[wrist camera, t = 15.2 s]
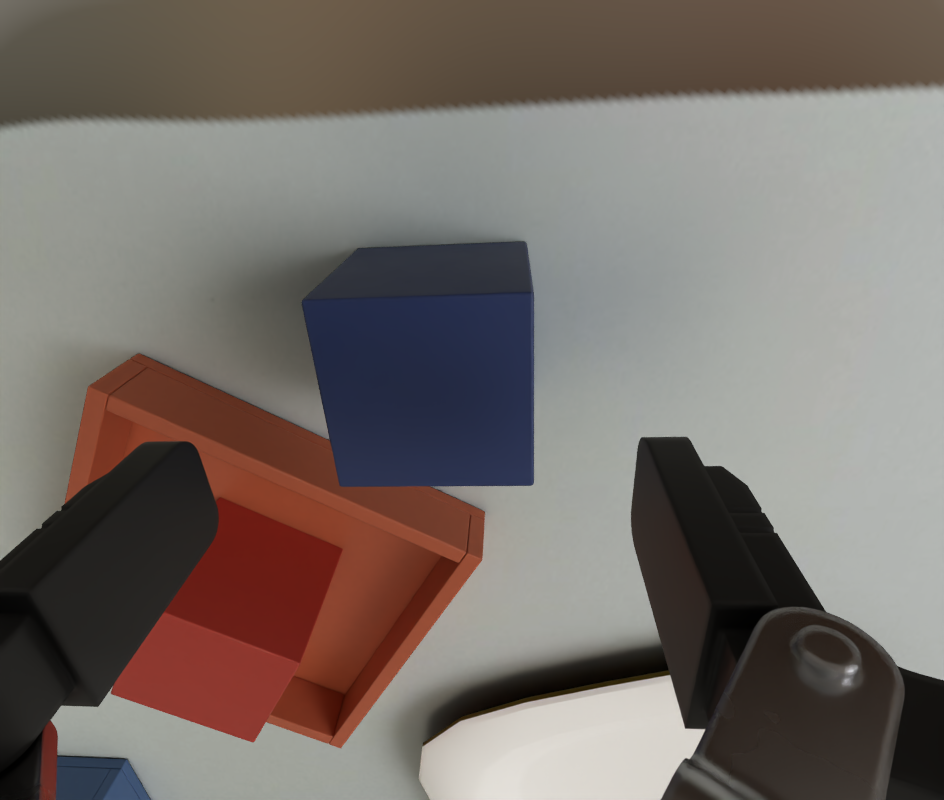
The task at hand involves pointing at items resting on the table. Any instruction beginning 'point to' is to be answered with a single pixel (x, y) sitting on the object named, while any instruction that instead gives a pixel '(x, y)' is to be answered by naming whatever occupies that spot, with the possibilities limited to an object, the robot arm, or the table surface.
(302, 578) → the red block
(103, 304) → the table surface
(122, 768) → the blue tray
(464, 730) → the plate
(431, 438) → the navy block
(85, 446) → the terracotta tray
